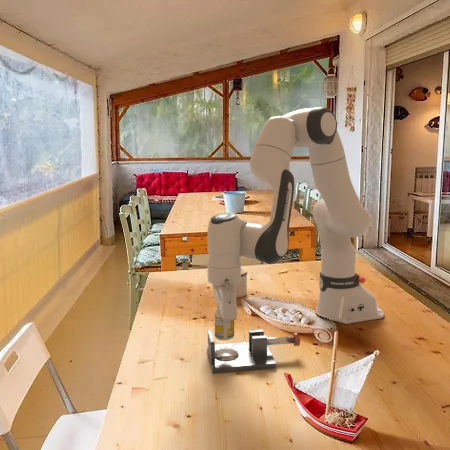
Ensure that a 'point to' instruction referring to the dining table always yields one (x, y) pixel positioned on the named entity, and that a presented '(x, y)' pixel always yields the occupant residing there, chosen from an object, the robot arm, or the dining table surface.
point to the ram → (285, 340)
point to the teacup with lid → (242, 284)
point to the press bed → (240, 354)
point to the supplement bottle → (219, 330)
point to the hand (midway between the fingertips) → (224, 323)
